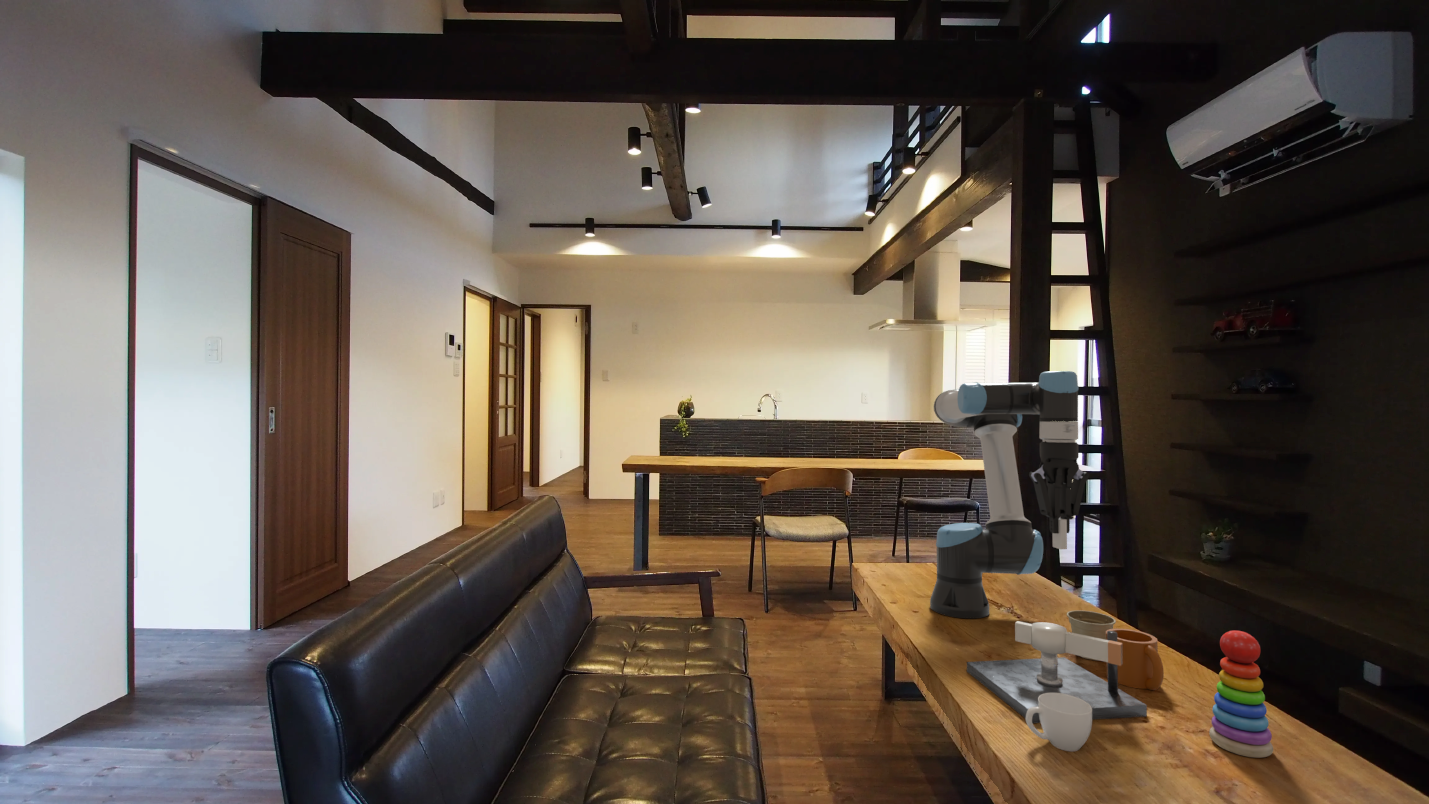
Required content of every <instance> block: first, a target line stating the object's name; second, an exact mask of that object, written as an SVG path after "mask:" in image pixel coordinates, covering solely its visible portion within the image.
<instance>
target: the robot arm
mask: <svg viewBox="0 0 1429 804" xmlns="http://www.w3.org/2000/svg"><path fill="white" fill-rule="evenodd" d="M1078 381H1079V380H1078V375H1077V373H1076V372H1075V371H1071V370H1061V371H1060V370H1058V371H1057V370H1053V371H1050V370H1049V371H1043V372H1041V373H1040V375H1039V378H1038V382H977V381H975V382H970V383H969V382H967V383H966V382H964V383H962V384H960V385H959V388H956V389H949V390H946V391H942V392H941V393H940V394H939V395H937V396H936V398H935V400H934V402H933V411H934V414H935V416H936V417H937V418H938V420H940V421H941V422H942V423H943V424H946V425H949V426H952V427H955V428H956V427H957V428H972V429H973V434H974V436H975V437H977V438H978V439H979V440H980V445H981V446H980V447H981V452H982V462H983V468H984V469H983V470H984V476H985V477H984V478H985V485H986V486H985V487H986V493H987V501H988V507H989V516H990V517H989V520H987V521H986V522H985V529H983V527H982V525H981V524H979V523H976V522H969V523H968V522H958V523H950V524H945V525H943V526H940V527H939V528H938V530H937V533H936V541H935V546H936V582H935V584H934V587H933V590H932V593H931V596H930V599H929V600H930V601H929V602H930V609H931V610H932V611H933V612H935V613H937V614H940V615H944V616H946V617H950V618H951V617H952V618H958V619H981V618H985V617H988V616H989V615H990V602H989V600H988V597H987V594H986V591H985V588H984V585H983V574H1012V575H1013V574H1015V575H1016V576H1017V575H1018V576H1020V575H1030V574H1031V575H1032V574H1034V573H1036V572H1037V571H1038V570H1039V569H1040V567H1041V564H1042V561H1043V558H1044V555H1043V554H1044V540H1043V537H1042V534H1041V532H1040V531H1038V530H1037V529H1033V527H1032V526H1033V525H1032V522H1031V521H1030V520H1029V519H1027V518H1026V517H1025V515H1024V514H1025V513H1024V507H1023V501H1022V500H1023V499H1022V494H1021V486H1020V480H1019V479H1020V478H1019V474H1018V473H1019V472H1018V467H1017V459H1016V452H1015V446H1014V439H1013V437H1014V435H1015V434H1016V433H1017V431H1018V428H1019V427H1020V426H1021V425H1022V422H1023V415H1034V416H1035V415H1038V416H1039V430H1038V431H1039V437H1038V439H1040V440H1042V441H1040V442H1039V457H1040V464H1039V467H1038V469H1037V470H1035V471H1034V472H1032V471H1030V472H1029V474H1028V476H1029V478H1030V480H1031V481H1032V483H1033V485H1034V490H1035V491H1034V492H1035V496H1036V499H1037V503H1038V507H1039V508H1038V509H1039V512H1040V514H1041V515H1042V516H1045V517H1047V518H1048V519H1049V524H1048V525H1049V533H1051V534H1052V547H1053V548H1056V549H1058V550H1068V534H1069V533H1070V528H1071V527H1070V526H1071V525H1070V522H1071V521H1070V520H1073V519H1074V516H1075V517H1076V516H1077V517H1078V515H1079V514H1080V513H1079V512H1080V508H1081V504H1082V499H1083V494H1084V490H1085V484H1086V482H1087V481H1088V479H1089V477H1090V473H1088V472H1086V471H1083V470H1081V469H1080V465H1079V464H1078V458H1079V444H1078V442H1076V440H1077V441H1078V440H1079V388H1080V387H1079V382H1078Z"/></svg>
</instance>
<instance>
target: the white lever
mask: <svg viewBox="0 0 1429 804" xmlns="http://www.w3.org/2000/svg"><path fill="white" fill-rule="evenodd" d="M1014 635H1015V636H1014V641H1015V642H1019V643H1022V644H1027V645H1031V647H1032V648H1033V649H1034V650H1037V651H1038V652H1041V651H1042V652H1045V653H1051V654H1057V655H1060V654H1061V655H1063V654H1069V655H1074V656H1078V657H1081V656H1082V657H1087V658H1091V659H1095V660H1098V661H1101V662H1104V663H1106V662H1108V663H1111V664H1115V665H1119V666H1121V665H1122V664H1123V648H1122V643H1120V642H1116V641H1111V640H1104V639H1100V638H1095V637H1090V636H1086V635H1081V634H1076V633H1072V631H1071V632H1070V631H1067V628H1066V627H1065V626H1062V625H1061V624H1056V623H1052V622H1046V621H1045V622H1042V621H1040V622H1033V623H1028V622H1025V621H1019V620H1017V621H1015V623H1014ZM1082 657H1081V658H1082ZM1095 660H1094V661H1095Z"/></svg>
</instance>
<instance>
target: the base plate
mask: <svg viewBox="0 0 1429 804" xmlns="http://www.w3.org/2000/svg"><path fill="white" fill-rule="evenodd" d="M1107 640H1111V641H1116V642H1117V632H1114V631H1107ZM1040 654H1041V656H1040V657H1039V658H1024V659H1023V658H1022V659H1020V658H1019V659H1004V660H1003V659H1002V660H1001V659H1000V660H978V661H966V672H967V673H968V675H970V676H972V677H973V678H974V679H976V680H977V681H978V682H979V683H980V684H981V685H983V686H984V687H985V688H986V689H988V690H989V691H991V692H992V693H993V694H995V696H997V697H998V698H999V699H1000V700H1002V701H1003V702H1004V703H1005V704H1007V705H1008V706H1009V707H1010V708H1012V709H1013V710H1014V711H1016V713H1018V714H1019V715H1020V716H1021V717H1023V718H1024V719H1026V713H1027V710H1028V709H1029V708H1031V707H1038V697H1039V696H1040V695H1041V694H1044V693H1062V694H1067V695H1071V696H1074V697H1077V698H1080V699H1082V700H1084V701H1085V702H1087V703H1088V704H1089V705H1090V706H1091V707H1092V721H1094V720H1105V719H1107V720H1108V719H1125V718H1126V719H1127V718H1140V717H1141V718H1142V717H1143V718H1145V717H1147V716H1148V711H1147V708H1148V705H1147V704H1146V703H1144V702H1142V701H1141V700H1138V699H1137V698H1135V697H1134V696H1132V695H1130V694H1128V693H1127V692H1125V691H1123V690H1122V689H1120V688H1119V683H1118V665H1115V664H1111V663H1108V677H1107V681H1106V680H1105V679H1102V678H1101V677H1099V676H1097V675H1096V674H1094V673H1092V672H1091V671H1089V670H1087V669H1085V668H1083V667H1082V666H1081V665H1078V664H1076V663H1075V662H1073V661H1071V660H1069V658H1067V657H1061V656H1060V657H1058V654H1051V653H1045V652H1042V651H1040ZM1032 723H1033V724H1038V723H1039V724H1041V723H1040V719H1039V713H1034V714H1033V717H1032Z"/></svg>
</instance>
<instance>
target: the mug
mask: <svg viewBox="0 0 1429 804" xmlns="http://www.w3.org/2000/svg"><path fill="white" fill-rule="evenodd" d="M1107 631H1114V632H1117V642H1120V643H1122V648H1123V664H1122V665H1121V666H1119V665H1118V685H1121V686H1126V687H1129V688H1134V689H1141V690H1150V691H1157V690H1158V689H1159V688H1160V687H1161V686H1162V684H1163V682H1164V677H1165V676H1164V675H1165V674H1164V671H1165V670H1164V666H1163V665H1164V664H1163V661H1162V658H1161V656H1160V654H1159V652H1158V651H1159V650H1158V644H1159V643H1158V638H1157V637H1155V636H1154V635H1152V634H1150V633H1147V632H1144V631H1140V630H1136V629H1129V628H1113V629H1109V630H1107ZM1107 631H1106V640H1107ZM1105 663H1106V669H1105V670H1106V677H1107V678H1108V662H1105Z"/></svg>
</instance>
